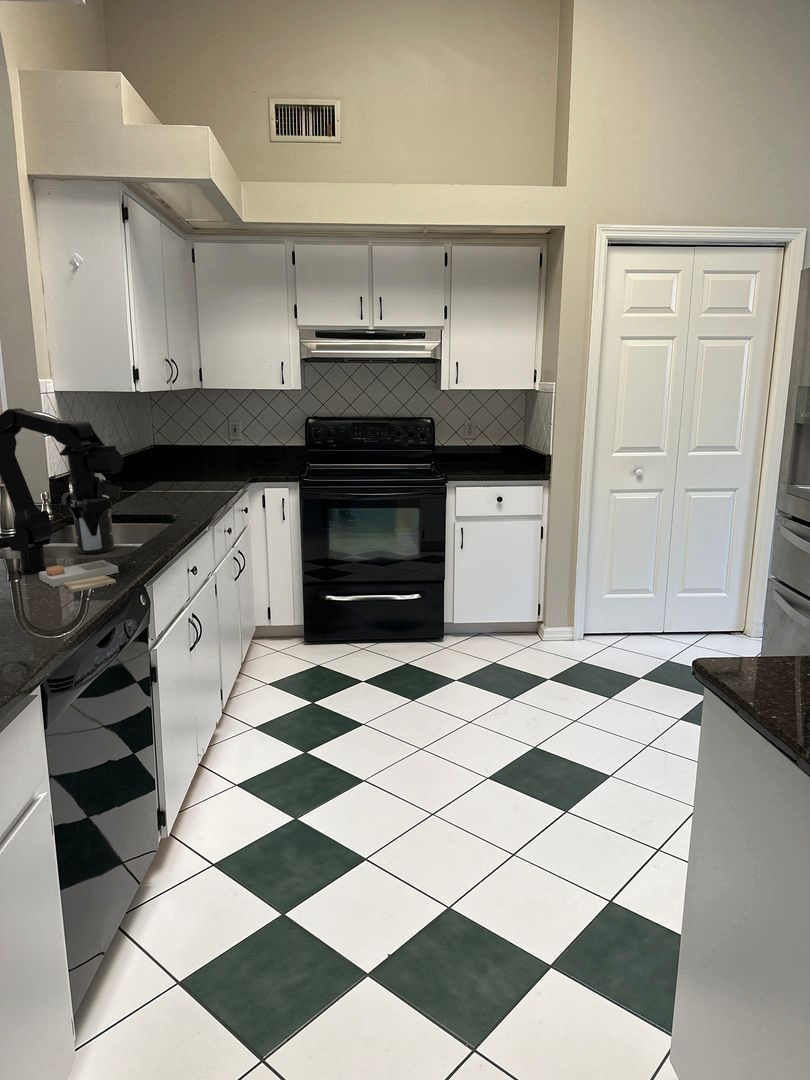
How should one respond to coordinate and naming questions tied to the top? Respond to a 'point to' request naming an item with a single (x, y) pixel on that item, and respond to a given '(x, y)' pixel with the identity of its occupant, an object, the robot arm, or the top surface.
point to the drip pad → (89, 583)
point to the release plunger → (55, 570)
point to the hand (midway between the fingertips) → (90, 534)
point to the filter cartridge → (89, 537)
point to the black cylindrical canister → (104, 527)
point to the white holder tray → (79, 572)
